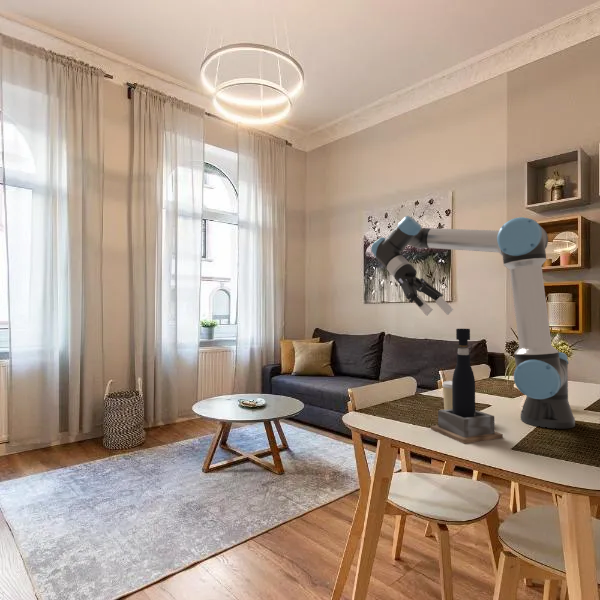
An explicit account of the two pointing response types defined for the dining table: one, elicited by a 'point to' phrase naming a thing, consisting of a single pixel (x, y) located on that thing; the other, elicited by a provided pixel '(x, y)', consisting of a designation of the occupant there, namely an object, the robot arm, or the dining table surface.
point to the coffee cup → (447, 394)
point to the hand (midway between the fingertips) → (440, 312)
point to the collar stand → (466, 426)
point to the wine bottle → (463, 379)
